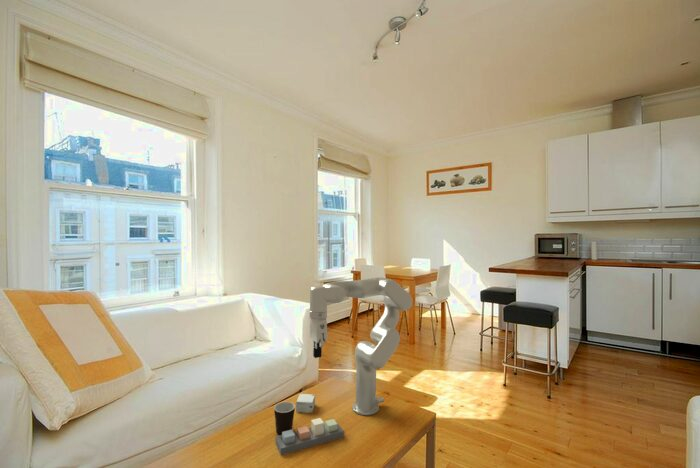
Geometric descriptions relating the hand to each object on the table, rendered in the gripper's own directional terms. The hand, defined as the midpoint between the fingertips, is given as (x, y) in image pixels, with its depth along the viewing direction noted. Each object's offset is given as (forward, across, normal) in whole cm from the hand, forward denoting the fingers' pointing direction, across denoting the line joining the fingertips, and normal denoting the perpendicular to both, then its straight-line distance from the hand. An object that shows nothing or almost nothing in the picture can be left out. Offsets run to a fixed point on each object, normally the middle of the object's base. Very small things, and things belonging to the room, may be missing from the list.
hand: (317, 356), depth 140 cm
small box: (+30, +14, 0) cm, 33 cm away
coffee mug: (+29, +2, +13) cm, 32 cm away
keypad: (+29, -10, +6) cm, 31 cm away
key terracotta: (+29, -10, +9) cm, 32 cm away
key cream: (+27, -10, +3) cm, 29 cm away
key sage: (+29, -10, -3) cm, 30 cm away
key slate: (+29, -10, +15) cm, 34 cm away
